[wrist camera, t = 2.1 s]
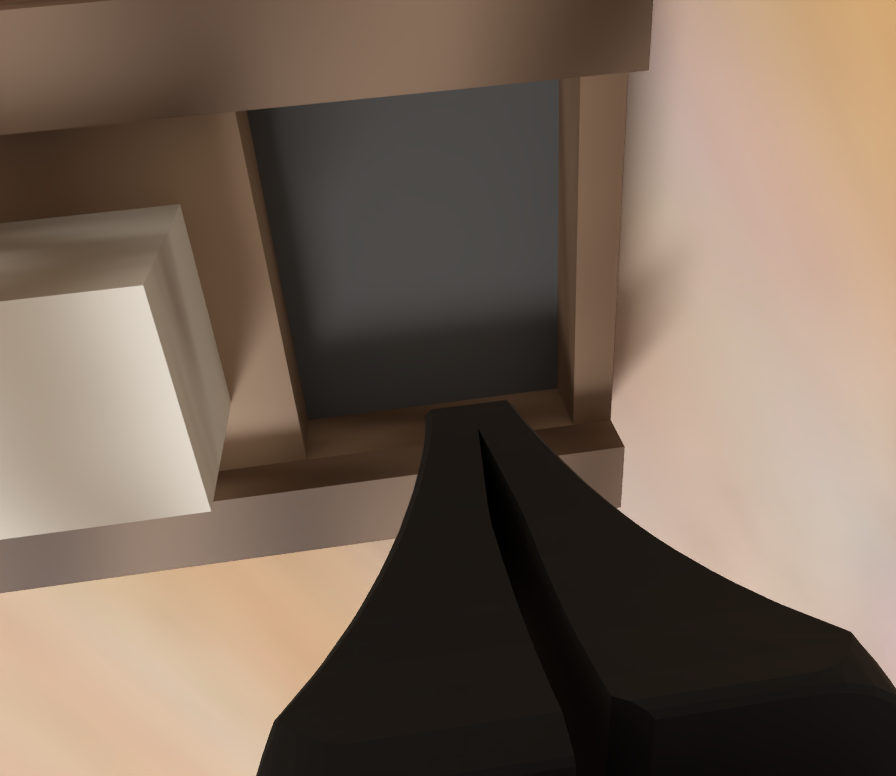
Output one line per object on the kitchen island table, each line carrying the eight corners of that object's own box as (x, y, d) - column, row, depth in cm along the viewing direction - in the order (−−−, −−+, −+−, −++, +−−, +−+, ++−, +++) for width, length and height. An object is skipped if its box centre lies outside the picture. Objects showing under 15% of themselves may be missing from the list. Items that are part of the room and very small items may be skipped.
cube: (19, 429, 19) (-46, 545, 16) (-68, 230, 16) (-170, 320, 13) (231, 402, 19) (211, 511, 16) (180, 203, 17) (142, 284, 13)
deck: (-334, 558, 22) (-425, 652, 19) (-745, 59, 15) (-975, 97, 12) (588, 436, 24) (620, 507, 21) (604, -60, 17) (656, -49, 14)
